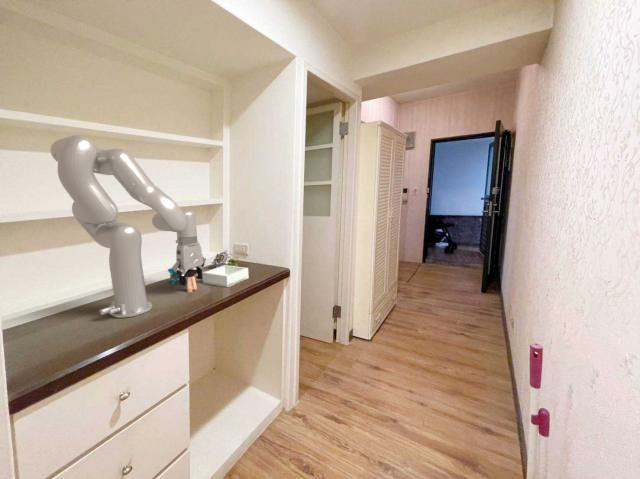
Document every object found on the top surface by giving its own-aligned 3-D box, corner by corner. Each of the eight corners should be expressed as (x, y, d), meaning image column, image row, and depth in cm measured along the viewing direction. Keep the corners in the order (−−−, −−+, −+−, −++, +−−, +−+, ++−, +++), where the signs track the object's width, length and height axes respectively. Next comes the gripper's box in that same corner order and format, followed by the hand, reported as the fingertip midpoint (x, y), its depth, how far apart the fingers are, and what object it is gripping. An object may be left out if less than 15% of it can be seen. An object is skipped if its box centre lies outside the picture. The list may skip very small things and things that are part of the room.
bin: (227, 287, 131) (226, 276, 130) (203, 283, 137) (202, 272, 136) (248, 278, 144) (248, 267, 143) (225, 274, 150) (224, 265, 149)
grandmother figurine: (191, 293, 124) (188, 263, 122) (182, 293, 125) (179, 263, 123) (201, 287, 132) (199, 259, 129) (193, 287, 132) (191, 259, 130)
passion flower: (220, 280, 159) (206, 262, 158) (232, 271, 168) (219, 254, 167) (232, 270, 154) (218, 252, 153) (244, 261, 163) (230, 244, 162)
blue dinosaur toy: (194, 278, 139) (176, 267, 133) (187, 290, 136) (168, 278, 130) (181, 277, 146) (164, 266, 140) (174, 288, 143) (156, 277, 137)
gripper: (175, 245, 115) (180, 289, 118) (210, 237, 130) (213, 277, 134) (162, 243, 118) (167, 286, 121) (197, 236, 134) (201, 275, 137)
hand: (191, 281), depth 127 cm, fingers closed on grandmother figurine, 7 cm apart
